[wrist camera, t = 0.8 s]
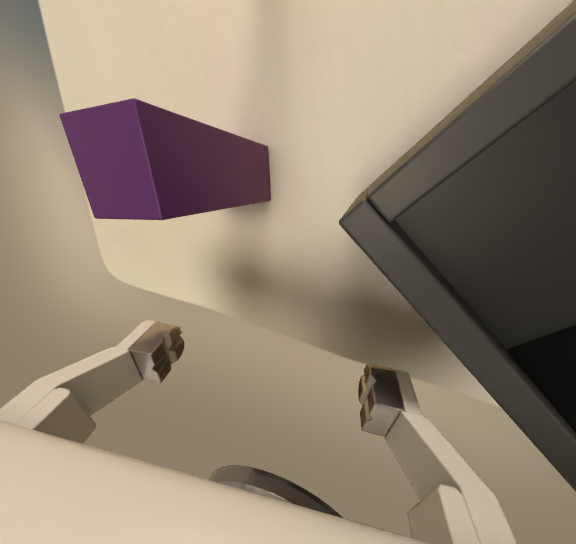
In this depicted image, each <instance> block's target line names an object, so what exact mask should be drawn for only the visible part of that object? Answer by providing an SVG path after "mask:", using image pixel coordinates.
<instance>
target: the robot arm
mask: <svg viewBox="0 0 576 544" xmlns="http://www.w3.org/2000/svg"><path fill="white" fill-rule="evenodd" d="M181 333H182V332H181V329H180V327H177V326H173V325H168V324H163V323H160V322H154V321H150V320H146V321H144V322H142V323H141V324H140V325H139V326H138V327H137V328H136V329H135V330H133V331H132V332H131V333H130V334H129V335H128V336H127V337H126V338H125V339H124V340H123V341H122V342H120V343H119V344H118V345H117V346H116V347H115V348H114V347H111V348H108V349H106V350H104V351H102V352H99V353H97V354H95V355H92V356H90V357H88V358H85V359H83V360H81V361H79V362H77V363H74V364H72V365H70V366H67V367H65V368H63V369H61V370H58V371H56V372H54V373H51V374H49V375H47V376H45V377H42V378H40V379H37V380H36V381H35V382H33V383H32V384H31V385H29V386H28V387H27V388H26V389H24V390H23V391H22V392H21V393H19V394H18V395H17V396H16V397H14V398H13V399H12V400H11V401H9V402H8V403H7V404H6V405H4V406H3V407H2V408H0V544H517V542H516V540H515V538H514V536H513V533H512V531H511V529H510V527H509V524H508V522H507V520H506V518H505V515H504V513H503V511H502V509H501V507H500V504H499V502H498V500H497V498H496V496H495V495H494V494H493V493H492V492H491V491H490V489H489V488H488V487H487V486H486V485H485V484H484V482H483V481H482V480H481V479H480V478H479V477H478V476H477V474H476V473H475V472H474V471H473V470H472V469H471V467H470V466H469V465H468V464H467V463H466V462H465V460H464V459H463V458H462V457H461V456H460V455H459V454H458V452H457V451H456V450H455V449H454V448H453V447H452V446H451V444H450V443H449V442H448V441H447V440H446V439H445V438H444V436H443V435H442V434H441V433H440V432H439V430H438V429H437V428H436V427H435V426H434V425H433V424H432V422H431V421H430V420H429V419H428V418H427V417H425V416H422V413H421V410H420V407H419V404H418V401H417V398H416V395H415V392H414V388H413V385H412V383H411V379H410V376H409V374H408V373H407V372H404V371H399V370H394V369H391V368H385V367H380V366H375V365H369V364H367V365H366V366H365V368H364V373H365V375H363V376H361V379H360V382H359V391H358V392H359V393H358V394H359V401H360V403H361V404H362V409H361V411H360V417H361V427H362V431H365V432H369V433H372V434H376V435H380V436H384V437H385V439H386V441H387V443H388V445H389V446H390V448H391V450H392V452H393V453H394V455H395V457H396V458H397V460H398V462H399V464H400V465H401V467H402V469H403V471H404V472H405V474H406V476H407V478H408V479H409V481H410V483H411V485H412V486H413V488H414V490H415V492H416V493H417V495H418V496H419V499H420V500H421V501H420V502H419V503H418V504H417V505H416V506H414V507H413V508H412V509H411V510H410V511H409V512H408V519H409V525H410V529H411V535H412V538H410V537H407V536H403V535H400V534H396V533H392V532H389V531H385V530H382V529H379V528H375V527H372V526H368V525H365V524H361V523H358V522H354V521H350V520H347V519H344V518H340V517H337V516H333V515H330V514H326V513H323V512H319V511H316V510H312V509H309V508H305V507H302V506H298V505H295V504H291V503H288V502H284V501H281V500H277V499H274V498H270V497H267V496H263V495H260V494H256V493H253V492H249V491H246V490H242V489H239V488H235V487H232V486H228V485H225V484H221V483H218V482H215V481H211V480H208V479H204V478H201V477H197V476H194V475H190V474H186V473H183V472H180V471H176V470H172V469H169V468H166V467H162V466H158V465H155V464H151V463H148V462H145V461H141V460H138V459H134V458H131V457H127V456H124V455H120V454H117V453H113V452H110V451H106V450H102V449H99V448H95V447H92V446H89V445H85V444H83V443H84V442H85V441H86V439H87V438H88V437H89V436H90V435H91V433H92V432H93V431H94V430H95V428H96V423H95V422H94V421H93V419H92V418H91V417H90V416H91V415H92V414H94V413H95V412H97V411H98V410H100V409H101V408H103V407H104V406H106V405H107V404H109V403H110V402H112V401H113V400H115V399H116V398H117V397H119V396H120V395H122V394H123V393H125V392H126V391H128V390H129V389H131V388H132V387H134V386H135V385H137V384H138V383H140V382H141V381H142V379H143V380H149V381H153V382H158V383H161V382H162V381H163V380H164V378H165V377H166V376H167V374H168V373H169V372H170V370H171V364H172V363H174V362H176V361H178V359H179V358H180V356H181V355H182V352H183V349H184V340H183V339H182V338H181V337H180V334H181Z"/></svg>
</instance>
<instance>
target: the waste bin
mask: <svg viewBox="0 0 576 544" xmlns="http://www.w3.org/2000/svg"><path fill="white" fill-rule="evenodd" d="M339 224H340V226H341V227H342V228H343V229H344V230H345V231H346V232H347V233H348V235H349V236H350V237H351V238H352V239H353V240H354V241H355V243H356V244H357V245H358V246H359V247H360V248H361V249H362V250H363V252H364V253H365V254H366V255H367V256H368V257H369V258H370V259H371V261H372V262H373V263H374V264H375V265H376V266H377V267H378V269H379V270H380V271H381V272H382V273H383V274H384V275H385V276H386V278H387V279H388V280H389V281H390V282H391V283H392V284H393V285H394V287H395V288H396V289H397V290H398V291H399V292H400V293H401V295H402V296H403V297H404V298H405V299H406V300H407V301H408V302H409V304H410V305H411V306H412V307H413V308H414V309H415V310H416V311H417V313H418V314H419V315H420V316H421V317H422V318H423V319H424V321H425V322H426V323H427V324H428V325H429V326H430V327H431V328H432V330H433V331H434V332H435V333H436V334H437V335H438V336H439V337H440V339H441V340H442V341H443V342H444V343H445V344H446V345H447V347H448V348H449V349H450V350H451V351H452V352H453V353H454V354H455V356H456V357H457V358H458V359H459V360H460V361H461V362H462V363H463V365H464V366H465V367H466V368H467V369H468V370H469V371H470V373H471V374H472V375H473V376H474V377H475V378H476V379H477V380H478V382H479V383H480V384H481V385H482V386H483V387H484V388H485V389H486V391H487V392H488V393H489V394H490V395H491V396H492V397H493V399H494V400H495V401H496V402H497V403H498V404H499V405H500V406H501V408H502V409H503V410H504V411H505V412H506V413H507V414H508V415H509V417H510V418H511V419H512V420H513V421H514V422H515V423H516V424H517V426H518V427H519V428H520V429H521V430H522V431H523V432H524V434H525V435H526V436H527V437H528V438H529V439H530V440H531V441H532V443H533V444H534V445H535V446H536V447H537V448H538V449H539V450H540V452H541V453H542V454H543V455H544V456H545V457H546V458H547V459H548V461H549V462H550V463H551V464H552V465H553V466H554V467H555V469H556V470H557V471H558V472H559V473H560V474H561V475H562V477H563V478H564V479H565V480H566V481H567V482H568V483H569V484H570V485H571V486H572V488H573V489H574V490H575V491H576V0H575V1H573V2H572V3H571V4H570V5H569V6H568V7H567V8H566V9H565V10H563V11H562V12H561V13H560V14H559V15H558V16H557V17H556V18H555V19H554V20H552V21H551V22H550V23H549V24H548V25H547V26H546V27H545V28H544V29H542V30H541V31H540V32H539V33H538V34H537V35H536V36H535V37H534V38H533V39H531V40H530V41H529V42H528V43H527V44H526V45H525V46H524V47H523V48H521V49H520V50H519V51H518V52H517V53H516V54H515V55H514V56H513V57H511V58H510V59H509V60H508V61H507V62H506V63H505V64H504V65H503V66H502V67H500V68H499V69H498V70H497V71H496V72H495V73H494V74H493V75H492V76H490V77H489V78H488V79H487V80H486V81H485V82H484V83H483V84H482V85H481V86H479V87H478V88H477V89H476V90H475V91H474V92H473V93H472V94H471V95H469V96H468V97H467V98H466V99H465V100H464V101H463V102H462V103H461V104H460V105H458V106H457V107H456V108H455V109H454V110H453V111H452V112H451V113H450V114H448V115H447V116H446V117H445V118H444V119H443V120H442V121H441V122H440V123H438V124H437V125H436V126H435V127H434V128H433V129H432V130H431V131H430V132H429V133H427V134H426V135H425V136H424V137H423V138H422V139H421V140H420V141H419V142H417V143H416V144H415V145H414V146H413V147H412V148H411V149H410V150H409V151H408V152H406V153H405V154H404V155H403V156H402V157H401V158H400V159H399V160H398V161H396V162H395V163H394V164H393V165H392V166H391V167H390V168H389V169H388V170H387V171H385V172H384V173H383V174H382V175H381V176H380V177H379V178H378V179H377V180H375V181H374V182H373V183H372V184H371V185H370V186H369V187H368V188H367V189H366V190H364V191H363V192H362V193H361V194H360V195H359V196H358V197H357V198H356V200H355V201H354V202H353V204H352V205H351V206H350V207H349V209H348V210H347V211H346V213H345V214H344V215H343V216H342V218H341V219H340V221H339Z"/></svg>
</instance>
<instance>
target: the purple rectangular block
mask: <svg viewBox="0 0 576 544" xmlns="http://www.w3.org/2000/svg"><path fill="white" fill-rule="evenodd" d="M60 118H61V121H62V124H63V127H64V129H65V133H66V136H67V138H68V141H69V144H70V147H71V150H72V153H73V156H74V158H75V162H76V165H77V168H78V171H79V174H80V177H81V179H82V182H83V185H84V188H85V191H86V194H87V197H88V200H89V203H90V206H91V209H92V212H93V215H94V217H95V218H97V219H139V220H165V219H171V218H176V217H182V216H187V215H193V214H199V213H204V212H210V211H215V210H221V209H226V208H232V207H237V206H243V205H248V204H254V203H259V202H265V201H270V200H271V198H270V180H269V162H268V147H267V146H265V145H262V144H259V143H257V142H254V141H251V140H248V139H245V138H243V137H240V136H237V135H234V134H232V133H229V132H226V131H223V130H220V129H218V128H215V127H212V126H209V125H207V124H204V123H201V122H198V121H195V120H193V119H190V118H187V117H184V116H182V115H179V114H176V113H173V112H170V111H168V110H165V109H162V108H159V107H156V106H154V105H151V104H148V103H145V102H143V101H140V100H137V99H129V100H124V101H120V102H115V103H110V104H105V105H100V106H95V107H91V108H86V109H81V110H76V111H71V112H66V113H62V114H60Z"/></svg>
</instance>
